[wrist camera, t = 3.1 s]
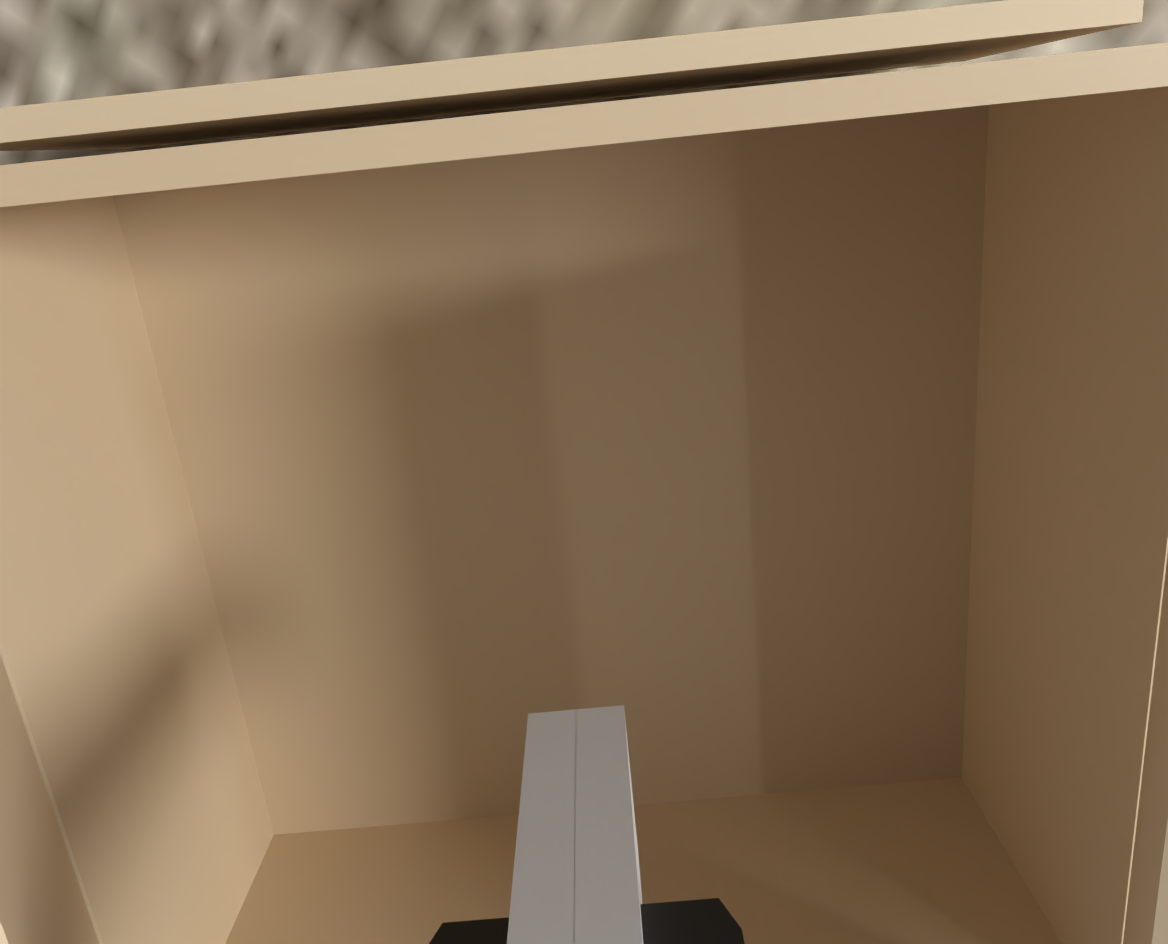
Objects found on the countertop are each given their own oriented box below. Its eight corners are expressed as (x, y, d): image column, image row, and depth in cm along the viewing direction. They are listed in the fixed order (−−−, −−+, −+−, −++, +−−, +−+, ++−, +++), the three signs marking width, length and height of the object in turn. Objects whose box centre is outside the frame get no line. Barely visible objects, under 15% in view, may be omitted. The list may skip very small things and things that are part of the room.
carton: (83, 133, 23) (-216, 127, 14) (1006, 35, 22) (1274, -33, 14) (270, 860, 30) (145, 1147, 21) (972, 802, 29) (1134, 1074, 21)
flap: (-186, 255, 14) (-331, 291, 8) (-138, 249, 14) (-245, 280, 9) (123, 1117, 20) (166, 1494, 14) (153, 1101, 20) (208, 1465, 14)
